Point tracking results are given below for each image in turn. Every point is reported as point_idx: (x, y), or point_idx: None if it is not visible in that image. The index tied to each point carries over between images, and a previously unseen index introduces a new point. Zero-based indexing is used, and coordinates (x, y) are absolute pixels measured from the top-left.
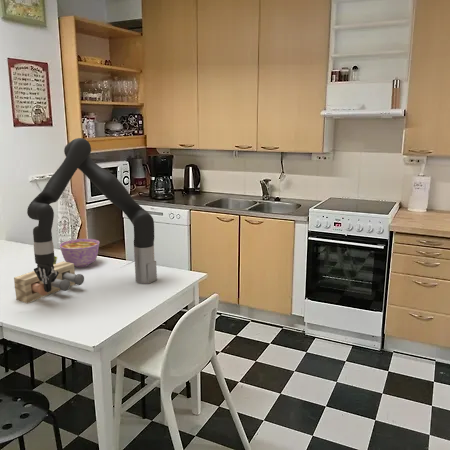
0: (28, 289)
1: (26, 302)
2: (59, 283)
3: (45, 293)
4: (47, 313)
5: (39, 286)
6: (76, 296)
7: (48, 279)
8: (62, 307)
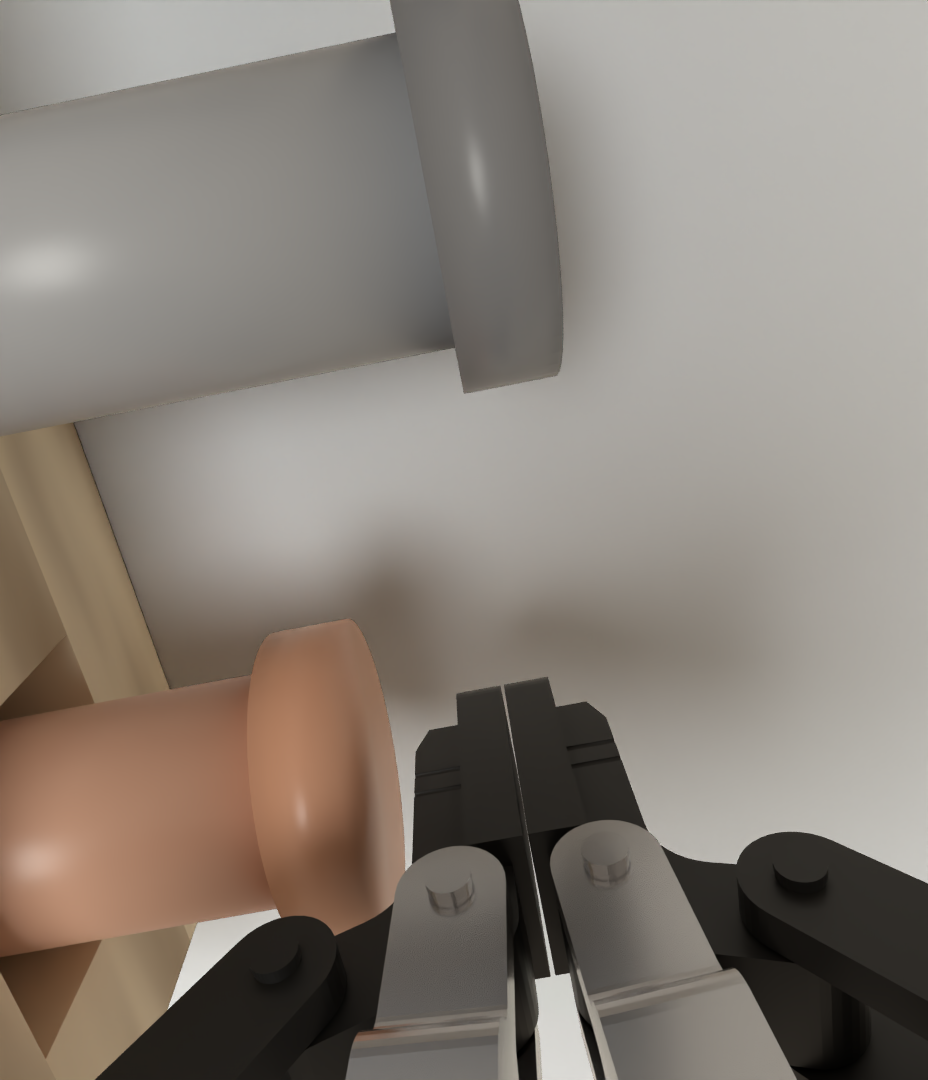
0: (127, 1009)
1: None
2: (390, 346)
3: (374, 687)
4: (878, 815)
5: None
6: (647, 6)
7: (509, 923)
8: (894, 554)
